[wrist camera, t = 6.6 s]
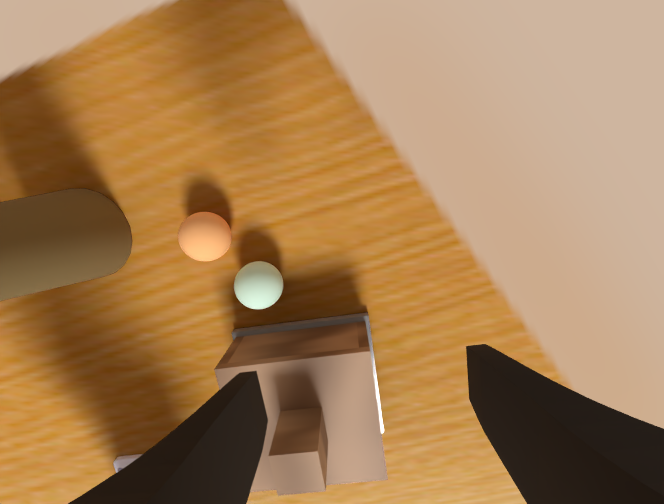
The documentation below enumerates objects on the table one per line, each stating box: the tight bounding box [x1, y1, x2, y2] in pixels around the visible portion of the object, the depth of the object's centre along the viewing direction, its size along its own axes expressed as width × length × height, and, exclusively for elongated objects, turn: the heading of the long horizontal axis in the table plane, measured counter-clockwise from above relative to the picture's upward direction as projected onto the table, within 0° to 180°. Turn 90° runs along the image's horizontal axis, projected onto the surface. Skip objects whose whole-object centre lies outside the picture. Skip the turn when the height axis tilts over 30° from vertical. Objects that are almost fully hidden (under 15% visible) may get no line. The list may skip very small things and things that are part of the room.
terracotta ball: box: [178, 212, 232, 261], centre depth 19 cm, size 3×3×3 cm
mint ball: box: [234, 261, 283, 309], centre depth 19 cm, size 3×3×3 cm
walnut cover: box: [214, 321, 388, 495], centre depth 19 cm, size 9×9×7 cm
